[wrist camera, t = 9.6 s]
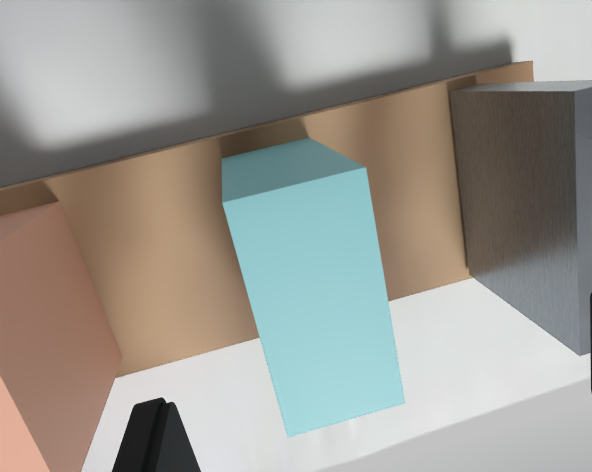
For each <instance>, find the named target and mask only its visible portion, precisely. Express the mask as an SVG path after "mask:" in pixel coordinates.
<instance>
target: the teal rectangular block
mask: <svg viewBox="0 0 592 472" xmlns="http://www.w3.org/2000/svg"><path fill="white" fill-rule="evenodd" d="M222 203H223V207H224V211H225V214H226V218H227V221H228V225H229V229H230V232H231V236H232V239H233V243H234V247H235V250H236V254H237V257H238V261H239V264H240V268H241V272H242V275H243V279H244V282H245V286H246V290H247V293H248V297H249V300H250V304H251V308H252V311H253V315H254V318H255V322H256V326H257V329H258V333H259V336H260V340H261V344H262V347H263V351H264V354H265V358H266V362H267V365H268V369H269V372H270V376H271V380H272V383H273V387H274V390H275V394H276V398H277V401H278V405H279V408H280V412H281V415H282V419H283V423H284V426H285V430H286V433H287V437H292V436H295V435H298V434H302V433H305V432H309V431H312V430H315V429H319V428H322V427H326V426H329V425H332V424H336V423H339V422H343V421H346V420H349V419H353V418H356V417H360V416H363V415H366V414H370V413H373V412H377V411H380V410H383V409H387V408H390V407H394V406H397V405H400V404H404V403H405V399H404V393H403V387H402V381H401V375H400V369H399V363H398V357H397V351H396V345H395V339H394V333H393V327H392V321H391V315H390V309H389V303H388V297H387V291H386V285H385V279H384V273H383V267H382V261H381V255H380V249H379V243H378V237H377V231H376V225H375V219H374V213H373V207H372V200H371V194H370V188H369V182H368V176H367V170H366V167H365V166H363V165H361V164H359V163H357V162H355V161H353V160H351V159H349V158H348V157H346V156H344V155H342V154H340V153H338V152H336V151H334V150H332V149H330V148H328V147H327V146H325V145H323V144H321V143H319V142H317V141H315V140H313V139H311V138H305V139H301V140H296V141H292V142H288V143H284V144H280V145H276V146H271V147H267V148H263V149H259V150H255V151H251V152H247V153H242V154H238V155H234V156H230V157H226V158H222Z"/></svg>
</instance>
